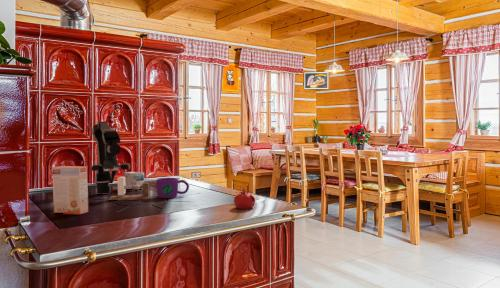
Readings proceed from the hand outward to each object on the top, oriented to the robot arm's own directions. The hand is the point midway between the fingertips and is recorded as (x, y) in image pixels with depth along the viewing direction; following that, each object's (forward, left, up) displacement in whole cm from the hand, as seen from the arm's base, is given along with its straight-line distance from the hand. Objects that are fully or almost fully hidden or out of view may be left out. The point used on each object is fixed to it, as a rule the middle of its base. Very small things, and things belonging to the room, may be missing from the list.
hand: (111, 183), depth 209 cm
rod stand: (+9, 0, -8) cm, 12 cm away
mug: (+32, -1, -9) cm, 33 cm away
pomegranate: (+65, -41, -9) cm, 77 cm away
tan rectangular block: (+5, 0, -6) cm, 8 cm away
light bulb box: (+8, +33, -9) cm, 35 cm away
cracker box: (-12, -33, -9) cm, 36 cm away
